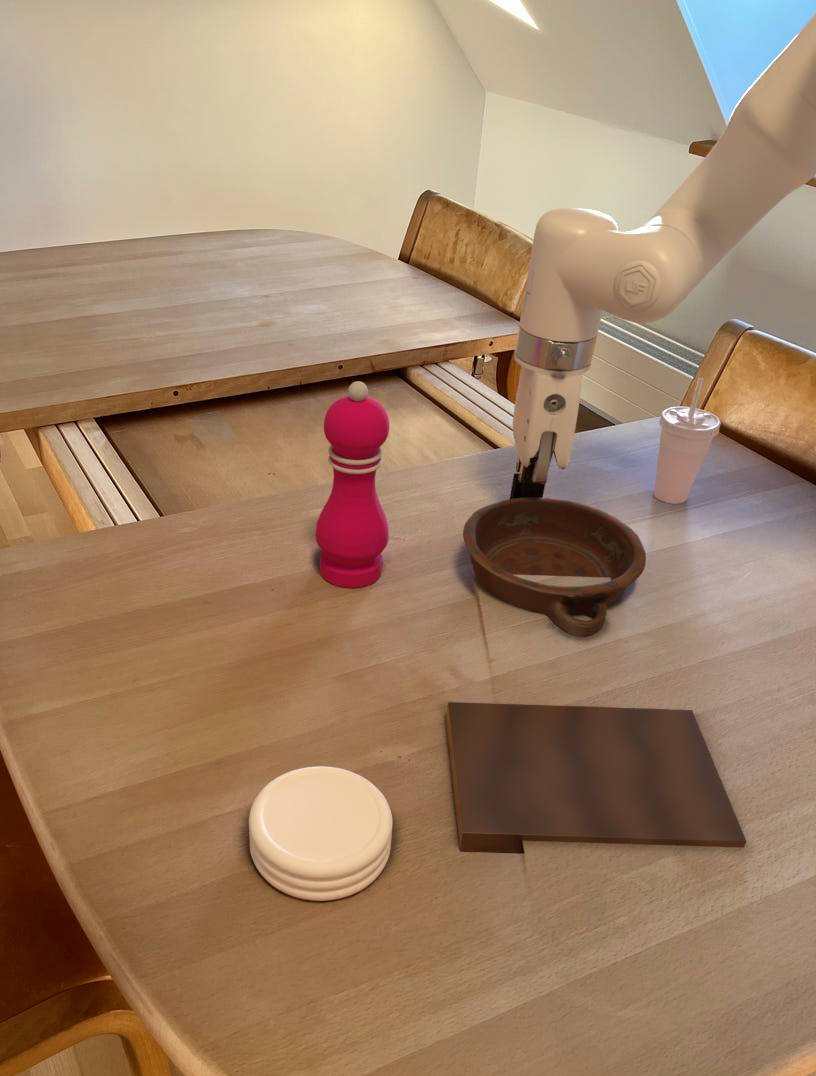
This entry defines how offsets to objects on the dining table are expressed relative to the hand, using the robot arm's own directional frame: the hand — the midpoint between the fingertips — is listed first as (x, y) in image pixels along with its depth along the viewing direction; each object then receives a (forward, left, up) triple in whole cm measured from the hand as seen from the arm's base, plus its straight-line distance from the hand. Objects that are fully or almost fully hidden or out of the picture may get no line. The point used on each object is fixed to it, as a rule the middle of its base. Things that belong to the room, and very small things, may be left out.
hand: (523, 509), depth 106 cm
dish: (-1, +12, -2) cm, 12 cm away
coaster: (+21, +47, -2) cm, 52 cm away
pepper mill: (+19, +11, -2) cm, 22 cm away
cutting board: (+1, +40, -1) cm, 40 cm away
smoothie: (-18, -7, -2) cm, 19 cm away
